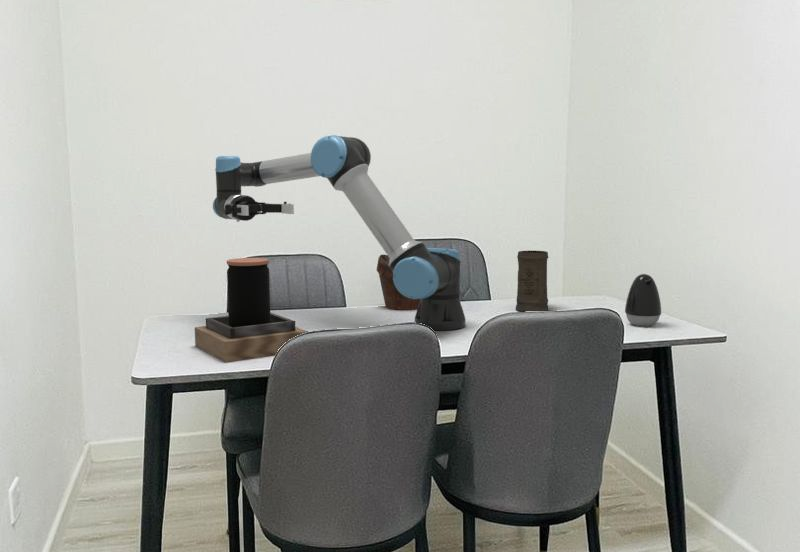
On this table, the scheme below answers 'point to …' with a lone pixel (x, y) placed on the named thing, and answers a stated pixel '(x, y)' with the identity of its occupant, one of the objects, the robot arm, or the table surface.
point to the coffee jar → (248, 292)
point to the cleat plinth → (244, 338)
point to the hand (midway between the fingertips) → (270, 209)
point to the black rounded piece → (643, 302)
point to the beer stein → (532, 281)
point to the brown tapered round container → (393, 288)
